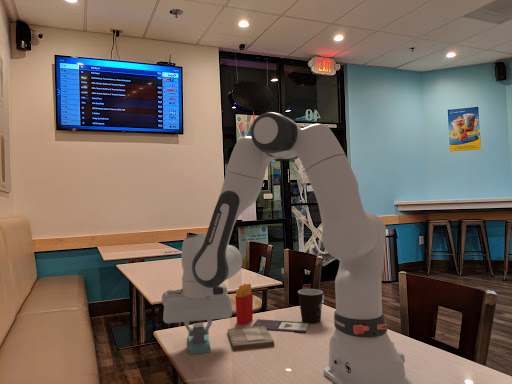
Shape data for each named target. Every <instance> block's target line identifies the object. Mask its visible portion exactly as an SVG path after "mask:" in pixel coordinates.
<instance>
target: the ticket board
mask: <svg viewBox="0 0 512 384" xmlns="http://www.w3.org/2000/svg"><path fill="white" fill-rule="evenodd" d="M227 335H228V338H229V341H230V344H231V348H232V351H238V350H239V351H240V350H249V349H250V350H251V349H260V348H268V347H269V348H270V347H275V340H274V339H273V336H271V334H270V332H269V330H267V329H266V328H265V326H256V327H252V326H249V327H248V326H247V327H246V326H245V327H236V328H235V327H234V328H228V329H227Z"/></svg>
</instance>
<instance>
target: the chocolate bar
mask: <svg viewBox="0 0 512 384" xmlns="http://www.w3.org/2000/svg"><path fill="white" fill-rule="evenodd" d="M309 325H310V324H309V322H302V321H290V320H288V321H287V320H277V319H276V320H273V319H258V318H257V319H256V320H255V322H254V323H253V325H252V326H251V327H256V326H265V328H266V329H267V331H274V332H275V331H276V332H290V333H295V334H306V333H307V331H308V328H309Z"/></svg>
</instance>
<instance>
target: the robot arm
mask: <svg viewBox="0 0 512 384" xmlns="http://www.w3.org/2000/svg"><path fill="white" fill-rule="evenodd" d="M297 159H299V160H300V162H301V165H302V166H303V170H304V172H305V174H306V177H307V179H308V182H309V184H310V186H311V188H312V191H313V194H314V197H315V198H316V202H317V205H318V209H319V214H320V219H321V224H322V233H321V243H322V246H323V248H324V249H325V251H326V252H327V253H328V255H330V256H331V257H333V258H335V259H338V260H339V265H338V270H337V274H336V276H335V280H334V286H335V287H334V288H335V289H334V292H335V310H334V314H333V322H334V324H333V325H334V326H333V327H335V330H334V332H333V333H332V335H331V336H330V338H329V346H328V347H329V350H328V365H327V366H326V367H324V368H323V375H324V376H326V377H327V378H328V379H330V380H331V381H332V382H333V383H335V384H414V383H413V382H412V381H411V379H410V378H409V377H408V376H407V375H406V371H405V369H406V368H405V362H406V358H405V354H404V353H403V352H398V350H397V348H396V347H395V343H394V341H392V340H391V338H390V336H389V335H388V333H387V332H388V327H387V326H388V323H387V321H386V319H385V315H384V313H383V304H382V303H383V300H382V297H383V296H382V277H383V269H384V268H383V267H384V260H385V259H384V258H385V247H386V236H387V226H386V224H385V223H384V221H383V219H381V217H380V216H378V215H376V214H375V213H373V212H371V211H367V210H366V211H365V210H364V207H363V204H362V200H361V196H360V190H359V181H358V179H357V178H356V175H355V173H354V171H353V169H352V167H351V163H350V162H349V160H348V157H347V155H346V153H345V151H344V149H343V148H342V146H341V144H340V142H339V140H338V139H337V137H336V136H335V134H334V133H333V131H332V130H331V128H330V127H329V126H328V125H326V124H323V123H314V124H310V125H308V126H306V127H302V126H301V125H300V124H297V123H296V122H295V121H294V120H293V119H291V118H290V117H287V116H285V115H283V114H281V113H278V112H272V111H271V112H269V111H268V112H263V113H261V114H259V115H258V116H257V117H256V118H255V119H254V120H253V122H252V124H251V127H250V135H249V136H247V135H246V136H243V137H241V138H239V139H238V140H237V141H236V143H235V144H234V147H233V150H232V152H231V155H230V157H229V161H228V163H227V167H226V171H225V175H224V179H223V183H222V187H221V190H220V193H219V196H218V199H217V202H216V205H215V207H214V209H213V213H212V216H211V219H210V222H209V226H208V228H207V231H206V233H198V234H193V235H189V236H187V237H185V238H184V240H183V242H182V246H181V267H182V271H183V273H182V276H181V279H182V280H181V282H182V283H181V284H182V285H181V286H182V288H181V289H179V288H178V289H173V290H172V289H168V290H166V291H164V292H163V293H162V296H161V304H162V306H163V313H162V316H163V317H162V321H163V322H164V323H165V324H174V323H176V324H177V323H184V328H186V330H187V331H188V333H189V336H194V334H193V327H192V328H191V327H190V322H198V321H206V322H207V324H206V326H205V327H204V335H208V336H209V335H210V331H209V330H210V328H211V326H212V324H213V320H221V319H230V318H231V317H232V315H233V307H232V302H231V298H230V295H229V294H228V287H227V284H225V283H224V282H225V281H227V280H229V279H230V278H232V277H233V276H235V275H237V273H239V272H240V271H241V269H242V266H243V265H244V263H243V262H244V259H243V254H242V252H241V251H240V249H239V248H237V247H236V246H235V245H232V244H229V243H230V240H231V237H232V234H233V230H234V226H235V225H236V222H237V220H238V219H239V217H240V216H241V215H242V213H243V212H244V211H246V210H247V209H248V208H249V207H251V206H252V205H253V204H255V203H256V202H257V199H258V197H259V195H260V193H261V191H262V189H263V188H262V187H263V185H264V179H265V175H266V171H267V168H268V167H269V164H270V163H271V162H272V161H275V162H282V161H292V160H297ZM188 333H187V334H188Z"/></svg>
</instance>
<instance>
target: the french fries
mask: <svg viewBox="0 0 512 384" xmlns="http://www.w3.org/2000/svg"><path fill="white" fill-rule="evenodd" d="M253 295H254V294H253V291H252V284H251V283H244V284H241V285H239V286H238V288H236V289H235V298H234V299H235V311H236V312H235V313H236V316H235V317H236V323H237V325H240V326H241V325H242V326H244V325H248V324H249V323H251V322H252V321H253V319H254V318H253V316H254V315H253V308H254V307H253V305H254V304H253V303H254V301H253V300H254V299H253V297H254V296H253Z"/></svg>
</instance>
